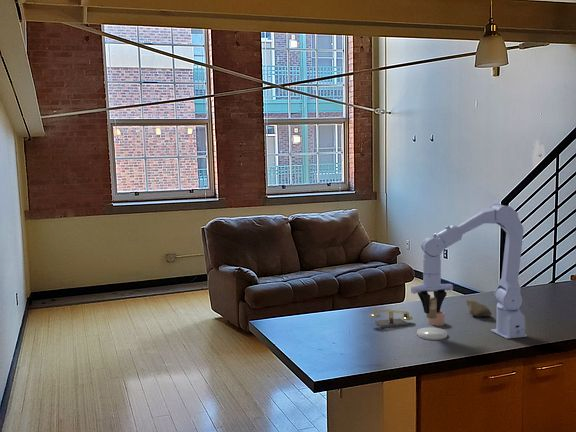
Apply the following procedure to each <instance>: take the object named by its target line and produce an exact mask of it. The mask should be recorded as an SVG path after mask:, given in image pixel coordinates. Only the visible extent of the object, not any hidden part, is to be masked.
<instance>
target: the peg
mask: <svg viewBox="0 0 576 432" xmlns="http://www.w3.org/2000/svg"><path fill="white" fill-rule="evenodd" d="M426 318H427V319H429V318H430V319H435V318H437V298H434V296H433V297H432V296H430V301H429V314H426Z"/></svg>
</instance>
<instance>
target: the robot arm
mask: <svg viewBox="0 0 576 432" xmlns="http://www.w3.org/2000/svg"><path fill="white" fill-rule="evenodd" d="M483 224H490V225H491V224H492V225H493V224H497V225H498V226H499V227H500V228H501V229H503V231H504V232H505V243H504V249H503V250H504V251H503V260H502V268H501V269H502V270H501V278H500V279H499V280H498V282H497V286H496V289H495V290H494V295H493V296H494V299H495V300H496V302H497V304H496V320H495V321H496V324H495V325H496V327H495V328H491V329H490V331H491V332H492V333H495V334H497V335H498V336H501V337H503V338H505V339H516V338H525V337H528V334H526V316H525V315H524V313H523V312H521V310H520V307H521V306H522V303H523V297H522V295H521V291H522V288H521V286H520V284H519V275H520V265H521V256H522V247H523V238H524V226H523V224H522V222H521V220H520V218H519V212H517V211H516V210H515V209H514V208H513V207H511V206H510V205H509V206H508V205H503V204H500V203H493V204H491V205H489V206H487V207H485V208H483V209H482V210H480V211H479V212H476V214H474V215H473V216H471V217H469V218H468V219H466V220H464V221H463V222H461V223H459V224H458V225H453V224H452V225H446V226H444V229H442V230H441V231H439V232H437V233H436V232H435V233H433V234H432V236H428V237H426V238H424V239H423V241H422V243H421V245H420V247H421V250H422V252H423V260H422V261H423V262H422V267H423V269H422V270H423V272H422V276H423V277H422V280H423V281H422V284H420V285H416V286H410V293H411V294H412V295H413V294H414V295H415V294H417V295H418V297H419V299H420V302H421V304H422V308H423V312H424V313H425V315H427V314H429V301H430V297H432V296H431V295H430V294H429V293H430V292H431V293H433V297H434V298H437V313H440V311H441V309H442V304H443V302H444V300H445V299H446V297H447V291H454V287H453V286H454V285H453V284H451V283H441V282H442V281H441V280H442V276H441V275H442V274H441V270H442V269H441V264H442V262H441V261H442V260H441V255H442V253H443V251H444V250H446V249H447V248H449V247H450V246H453V245H454V244H456V243H458V242H459V241H461V240H462V238H463V235H465V234H466V233H468V232H470V231H472V230H474V229H476V228H478V227H480V226H482V225H483Z"/></svg>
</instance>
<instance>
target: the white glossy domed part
mask: <svg viewBox="0 0 576 432" xmlns="http://www.w3.org/2000/svg"><path fill="white" fill-rule="evenodd" d="M417 335H418V336H419V337H418V336H417ZM416 336H417V337H418V338H420V337H421V338H420V339H424V340H430V341H439V340H444V339H446V338H447V337H448V331H447V330H445V329H444V328H440V327H439V328H438V327H429V326H428V327H421V328H418V329H417V330H416Z"/></svg>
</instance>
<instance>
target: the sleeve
mask: <svg viewBox="0 0 576 432" xmlns="http://www.w3.org/2000/svg"><path fill="white" fill-rule="evenodd" d="M445 315H446V314H445V312H444V311H442V310H440V313H437V318H435V319H430V318H428V325H430V324H431V325H430V326H434V325H436V327H439V326H441V327H442V326H444V325H445V324H446V321H445V319H446V316H445Z"/></svg>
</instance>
